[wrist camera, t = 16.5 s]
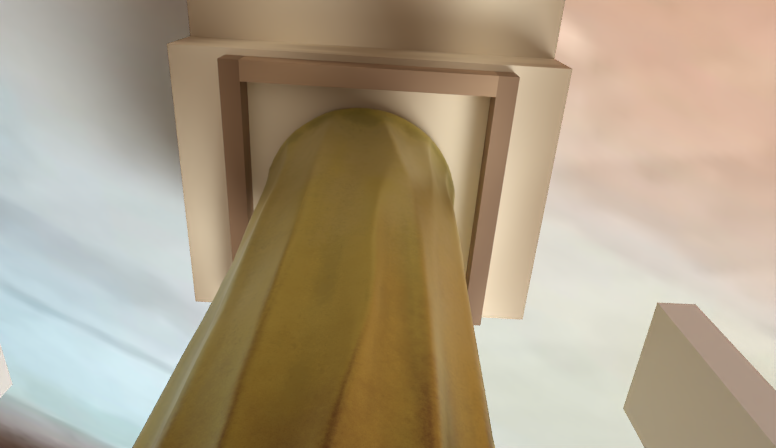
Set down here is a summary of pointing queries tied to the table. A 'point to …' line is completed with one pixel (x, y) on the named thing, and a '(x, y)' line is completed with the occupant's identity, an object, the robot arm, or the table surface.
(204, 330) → the vase
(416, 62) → the step stand
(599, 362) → the table surface
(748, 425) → the robot arm
